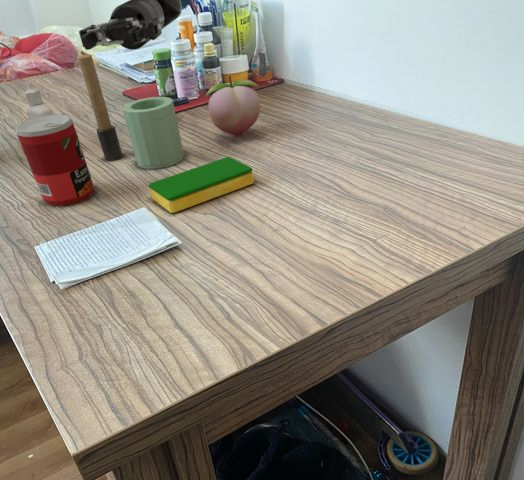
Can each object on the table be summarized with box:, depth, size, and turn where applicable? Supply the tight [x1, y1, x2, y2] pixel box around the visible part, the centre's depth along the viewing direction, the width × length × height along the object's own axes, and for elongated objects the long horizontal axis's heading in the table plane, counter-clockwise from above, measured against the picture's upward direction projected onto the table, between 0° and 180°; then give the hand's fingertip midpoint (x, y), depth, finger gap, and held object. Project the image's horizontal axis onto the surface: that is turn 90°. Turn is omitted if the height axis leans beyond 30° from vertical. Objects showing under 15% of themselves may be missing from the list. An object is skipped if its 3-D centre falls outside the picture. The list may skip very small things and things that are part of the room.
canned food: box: [15, 114, 95, 207], centre depth 76 cm, size 8×8×11 cm
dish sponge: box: [148, 156, 254, 214], centre depth 75 cm, size 7×14×2 cm, turn 124°
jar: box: [122, 96, 185, 170], centre depth 85 cm, size 8×8×9 cm
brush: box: [77, 54, 124, 161], centre depth 86 cm, size 3×3×16 cm
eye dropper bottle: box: [24, 81, 54, 120], centre depth 93 cm, size 4×6×12 cm
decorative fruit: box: [204, 75, 261, 137], centre depth 90 cm, size 9×8×10 cm
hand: (108, 40), depth 89 cm, fingers open, 8 cm apart
